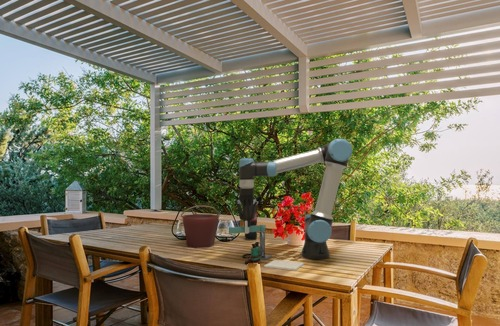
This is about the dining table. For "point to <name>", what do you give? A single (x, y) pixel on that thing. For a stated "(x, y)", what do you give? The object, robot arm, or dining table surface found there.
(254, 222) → the cola bottle
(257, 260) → the binoculars
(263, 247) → the post
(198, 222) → the bucket
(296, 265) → the tile
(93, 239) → the dining table surface
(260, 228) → the swing arm
